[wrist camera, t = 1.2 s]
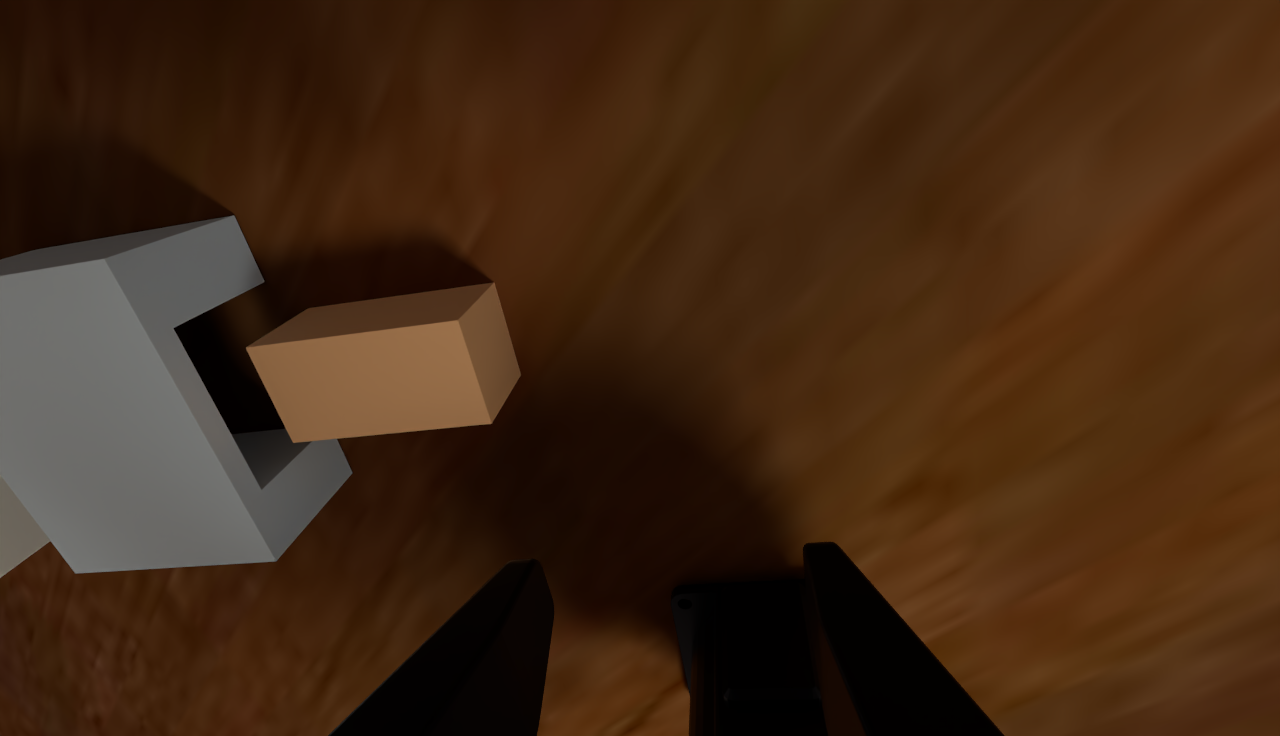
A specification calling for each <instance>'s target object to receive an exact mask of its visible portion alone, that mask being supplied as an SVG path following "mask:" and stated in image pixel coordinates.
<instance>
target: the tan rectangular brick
mask: <svg viewBox="0 0 1280 736" xmlns="http://www.w3.org/2000/svg"><path fill="white" fill-rule="evenodd" d="M246 350H247V352H248V354H249V356H250V358H251V360H252V362H253V364H254V366H255V368H256V370H257V372H258V374H259V376H260V378H261V380H262V382H263V384H264V386H265V388H266V390H267V392H268V394H269V396H270V398H271V400H272V402H273V404H274V406H275V408H276V410H277V412H278V414H279V416H280V418H281V420H282V422H283V424H284V426H285V428H286V430H287V432H288V434H289V436H290V438H291V440H292V442H293V443H298V442H308V441H319V440H329V439H339V438H350V437H360V436H370V435H380V434H391V433H401V432H411V431H422V430H432V429H442V428H453V427H463V426H473V425H484V424H492V422H493V421H494V419H495V417H496V416H497V414H498V412H499V411H500V409H501V407H502V406H503V404H504V402H505V401H506V399H507V397H508V396H509V394H510V392H511V391H512V389H513V387H514V386H515V384H516V382H517V381H518V379H519V377H520V376H521V373H520V370H519V366H518V363H517V359H516V356H515V352H514V349H513V345H512V342H511V339H510V335H509V332H508V328H507V325H506V321H505V318H504V314H503V311H502V307H501V304H500V300H499V297H498V294H497V290H496V287H495V283H494V282H493V283H486V284H479V285H472V286H465V287H457V288H450V289H443V290H436V291H429V292H421V293H414V294H407V295H400V296H393V297H385V298H378V299H371V300H364V301H356V302H349V303H342V304H335V305H328V306H320V307H313V308H308V309H306V310H305V311H303V312H301V313H300V314H298V315H297V316H295V317H293V318H292V319H290V320H289V321H287V322H286V323H284V324H282V325H281V326H279V327H278V328H276V329H274V330H273V331H271V332H270V333H268V334H266V335H265V336H263V337H262V338H260V339H258V340H257V341H255V342H254V343H252V344H251V345H249V346H247V347H246Z"/></svg>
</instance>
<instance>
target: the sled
mask: <svg viewBox="0 0 1280 736" xmlns="http://www.w3.org/2000/svg"><path fill="white" fill-rule="evenodd" d="M264 282H265V281H264V279H263V277H262V275H261V273H260V270H259V268H258V266H257V264H256V262H255V260H254V257H253V255H252V253H251V251H250V249H249V247H248V244H247V242H246V240H245V238H244V236H243V233H242V231H241V229H240V227H239V225H238V223H237V220H236V218H235V216H234V215H233V216H227V217H221V218H215V219H210V220H204V221H198V222H192V223H187V224H181V225H175V226H169V227H164V228H158V229H152V230H146V231H141V232H135V233H129V234H123V235H117V236H112V237H106V238H100V239H94V240H89V241H83V242H77V243H71V244H66V245H60V246H54V247H48V248H42V249H37V250H32V251H29V252H25V253H22V254H18V255H15V256H12V257H8V258H5V259H1V260H0V475H1V476H2V478H3V479H4V480H5V482H6V483H7V484H8V486H9V487H10V488H11V490H12V491H13V492H14V494H15V495H16V496H17V497H18V499H19V500H20V501H21V503H22V504H23V505H24V507H25V508H26V509H27V511H28V512H29V513H30V514H31V516H32V517H33V518H34V520H35V521H36V522H37V524H38V525H39V526H40V528H41V529H42V530H43V532H44V533H45V534H46V535H47V537H48V538H49V539H50V541H51V542H52V543H53V545H54V546H55V547H56V549H57V550H58V551H59V552H60V554H61V555H62V556H63V558H64V559H65V560H66V562H67V563H68V564H69V566H70V567H71V568H72V570H73V571H74V572H75V573H91V572H108V571H124V570H141V569H158V568H174V567H191V566H207V565H224V564H241V563H257V562H274V561H277V560H278V559H279V558H280V556H281V555H282V554H283V553H284V552H285V551H286V549H287V548H288V547H289V546H290V545H291V544H292V542H293V541H294V540H295V539H296V538H297V537H298V536H299V534H300V533H301V532H302V531H303V530H304V529H305V527H306V526H307V525H308V524H309V523H310V522H311V521H312V519H313V518H314V517H315V516H316V515H317V514H318V512H319V511H320V510H321V509H322V508H323V507H324V505H325V504H326V503H327V502H328V501H329V500H330V499H331V497H332V496H333V495H334V494H335V493H336V492H337V490H338V489H339V488H340V487H341V486H342V485H343V484H344V482H345V481H346V480H347V479H348V478H349V477H350V475H351V474H352V471H351V469H350V466H349V464H348V462H347V460H346V458H345V455H344V453H343V451H342V449H341V447H340V445H339V442H338V440H337V439H329V440H319V441H308V442H298V443H293V442H292V440H291V438H290V436H289V434H288V432H287V430H286V429H278V430H268V431H258V432H249V433H239V434H231V433H230V431H229V429H228V428H227V426H226V424H225V422H224V420H223V418H222V417H221V415H220V413H219V411H218V409H217V407H216V406H215V404H214V402H213V400H212V398H211V396H210V395H209V393H208V391H207V389H206V387H205V385H204V384H203V382H202V380H201V378H200V376H199V374H198V373H197V371H196V369H195V367H194V365H193V363H192V362H191V360H190V358H189V356H188V354H187V352H186V351H185V349H184V347H183V345H182V343H181V341H180V340H179V338H178V336H177V334H176V332H175V330H174V329H173V328H175V327H177V326H179V325H181V324H183V323H185V322H187V321H189V320H191V319H192V318H194V317H196V316H198V315H200V314H202V313H204V312H206V311H208V310H210V309H212V308H214V307H216V306H218V305H220V304H222V303H224V302H226V301H228V300H230V299H232V298H234V297H236V296H238V295H240V294H242V293H244V292H246V291H248V290H250V289H252V288H254V287H256V286H258V285H260V284H262V283H264Z"/></svg>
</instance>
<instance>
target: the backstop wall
mask: <svg viewBox="0 0 1280 736" xmlns="http://www.w3.org/2000/svg"><path fill="white" fill-rule="evenodd" d="M48 542H50V539H49V538H48V537H47V535H46V534H45V533H44V532H43V530H42V529H41V528H40V526H39V525H38V524H37V522H36V521H35V520H34V518H33V517H32V516H31V514H30V513H29V512H28V511H27V509H26V508H25V507H24V505H23V504H22V503H21V501H20V500H19V499H18V497H17V496H16V495H15V494H14V492H13V491H12V490H11V488H10V487H9V486H8V484H7V483H6V482H5V480H4V479H3V478H2V476H1V475H0V578H1V577H2V576H3V575H5V574H6V573H7V572H9V571H10V570H12V569H13V568H14V567H16V566H17V565H18V564H20V563H21V562H22V561H24V560H25V559H27V558H28V557H29V556H31V555H32V554H33V553H35V552H36V551H38V550H39V549H40V548H42V547H43V546H44V545H46V544H47V543H48Z"/></svg>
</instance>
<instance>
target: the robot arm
mask: <svg viewBox="0 0 1280 736" xmlns="http://www.w3.org/2000/svg"><path fill="white" fill-rule="evenodd" d="M803 560H804V573H805V579H802V580H781V581H759V582H738V583H716V584H695V585H681V586H678V587H676V588H674V589H673V591H672V596H671V608H672V612H673V617H674V622H675V627H676V631H677V636H678V641H679V646H680V650H681V655H682V660H683V665H684V670H685V674H686V679H687V684H688V689H689V693H690V717H689V736H1004V734H1003V733H1002V732H1001V731H1000V730H999V729H998V728H997V726H996V725H995V724H994V723H993V722H992V721H991V720H990V718H989V717H988V716H987V715H986V714H985V713H984V712H983V710H982V709H981V708H980V707H979V706H978V705H977V704H976V702H975V701H974V700H973V699H972V698H971V697H970V696H969V694H968V693H967V692H966V691H965V690H964V689H963V688H962V686H961V685H960V684H959V683H958V682H957V681H956V680H955V678H954V677H953V676H952V675H951V674H950V673H949V672H948V670H947V669H946V668H945V667H944V666H943V665H942V664H941V662H940V661H939V660H938V659H937V658H936V657H935V656H934V654H933V653H932V652H931V651H930V650H929V649H928V647H927V646H926V645H925V644H924V643H923V642H922V641H921V639H920V638H919V637H918V636H917V635H916V634H915V633H914V631H913V630H912V629H911V628H910V627H909V626H908V625H907V623H906V622H905V621H904V620H903V619H902V618H901V617H900V615H899V614H898V613H897V612H896V611H895V610H894V609H893V607H892V606H891V605H890V604H889V603H888V602H887V601H886V599H885V598H884V597H883V596H882V595H881V594H880V593H879V591H878V590H877V589H876V588H875V587H874V586H873V585H872V583H871V582H870V581H869V580H868V579H867V578H866V577H865V575H864V574H863V573H862V572H861V571H860V570H859V569H858V567H857V566H856V565H855V564H854V563H853V562H852V561H851V559H850V558H849V557H848V556H847V555H846V554H845V552H844V551H843V550H842V549H841V548H840V547H839V546H838V545H837V544H836V543H834V542H818V543H806V544H805V545H804V547H803ZM682 599H688V600H687V601H686V600H682ZM553 621H554V604H553V599H552V596H551V593H550V590H549V587H548V584H547V580H546V577H545V574H544V571H543V568H542V566H541V564H540V562H539V561H538V560H536V559H519V560H511V561H509V562H507V563H506V564H505V565H504V566H503V567H502V568H501V569H500V570H499V571H498V572H497V573H496V574H495V575H494V576H492V577H491V578H490V579H489V580H488V581H487V582H486V583H485V584H484V585H483V586H482V587H481V588H480V589H479V590H478V591H477V592H476V593H475V594H474V595H473V596H472V597H471V598H470V599H469V600H468V601H467V602H466V603H465V604H464V605H463V606H461V607H460V608H459V609H458V610H457V611H456V612H455V613H454V614H453V615H452V616H451V617H450V618H449V619H448V620H447V621H446V622H445V623H444V624H443V625H442V626H441V627H440V628H439V629H438V630H437V631H436V632H435V633H434V634H433V635H432V636H431V637H429V638H428V639H427V640H426V641H425V642H424V643H423V644H422V645H421V646H420V647H419V648H418V649H417V650H416V651H415V652H414V653H413V654H412V655H411V656H410V657H409V658H408V659H407V660H406V661H405V662H404V663H403V664H402V665H401V666H400V667H398V668H397V669H396V670H395V671H394V672H393V673H392V674H391V675H390V676H389V677H388V678H387V679H386V680H385V681H384V682H383V683H382V684H381V685H380V686H379V687H378V688H377V689H376V690H375V691H374V692H373V693H372V694H371V695H370V696H369V697H367V698H366V699H365V700H364V701H363V702H362V703H361V704H360V705H359V706H358V707H357V708H356V709H355V710H354V711H353V712H352V713H351V714H350V715H349V716H348V717H347V718H346V719H345V720H344V721H343V722H342V723H341V724H340V725H339V726H338V727H336V728H335V729H334V730H333V731H332V732H331V733H330V734H329V735H328V736H537V731H538V727H539V720H540V714H541V708H542V700H543V693H544V686H545V679H546V671H547V664H548V657H549V650H550V642H551V635H552V628H553Z"/></svg>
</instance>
